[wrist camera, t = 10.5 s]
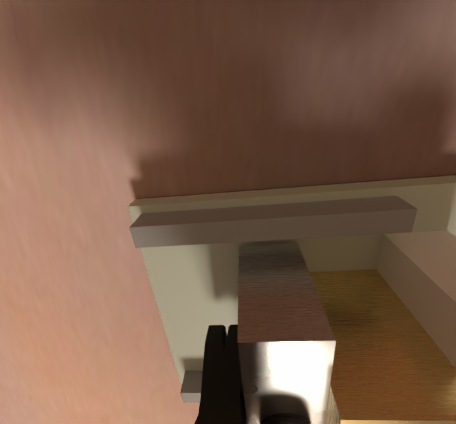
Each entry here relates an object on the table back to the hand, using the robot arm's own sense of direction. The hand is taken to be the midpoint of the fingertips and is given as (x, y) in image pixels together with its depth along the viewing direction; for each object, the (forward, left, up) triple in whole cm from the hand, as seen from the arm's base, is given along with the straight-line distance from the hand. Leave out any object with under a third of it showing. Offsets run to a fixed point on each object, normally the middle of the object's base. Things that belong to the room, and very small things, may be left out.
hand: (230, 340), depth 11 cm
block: (-5, 0, -2) cm, 5 cm away
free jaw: (-2, 0, -1) cm, 2 cm away
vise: (-3, 0, -2) cm, 4 cm away
